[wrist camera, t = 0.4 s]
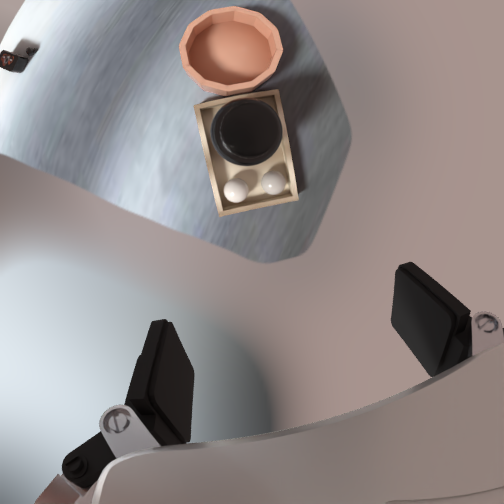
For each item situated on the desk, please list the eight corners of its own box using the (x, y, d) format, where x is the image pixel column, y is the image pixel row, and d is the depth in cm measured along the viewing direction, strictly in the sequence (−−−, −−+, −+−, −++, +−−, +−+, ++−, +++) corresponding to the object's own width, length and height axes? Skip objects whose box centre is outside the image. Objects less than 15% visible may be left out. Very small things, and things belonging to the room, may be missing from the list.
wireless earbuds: (25, 75, 23) (13, 73, 20) (5, 66, 21) (-6, 64, 18) (39, 49, 22) (28, 46, 19) (18, 42, 20) (7, 39, 17)
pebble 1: (221, 179, 34) (221, 183, 31) (244, 174, 34) (246, 177, 31) (226, 201, 35) (226, 207, 32) (249, 196, 35) (252, 202, 32)
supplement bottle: (262, 102, 30) (283, 84, 19) (274, 153, 33) (300, 162, 22) (207, 114, 30) (199, 101, 19) (221, 166, 33) (219, 180, 22)
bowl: (178, 30, 25) (173, 18, 21) (265, 15, 25) (270, 2, 21) (193, 104, 30) (189, 100, 26) (283, 87, 30) (290, 81, 26)
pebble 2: (257, 171, 34) (260, 174, 31) (280, 167, 34) (285, 169, 31) (261, 194, 35) (265, 199, 32) (284, 189, 35) (290, 194, 32)
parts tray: (195, 107, 30) (193, 105, 28) (275, 91, 30) (278, 89, 28) (219, 212, 35) (219, 216, 34) (294, 196, 36) (298, 199, 34)
